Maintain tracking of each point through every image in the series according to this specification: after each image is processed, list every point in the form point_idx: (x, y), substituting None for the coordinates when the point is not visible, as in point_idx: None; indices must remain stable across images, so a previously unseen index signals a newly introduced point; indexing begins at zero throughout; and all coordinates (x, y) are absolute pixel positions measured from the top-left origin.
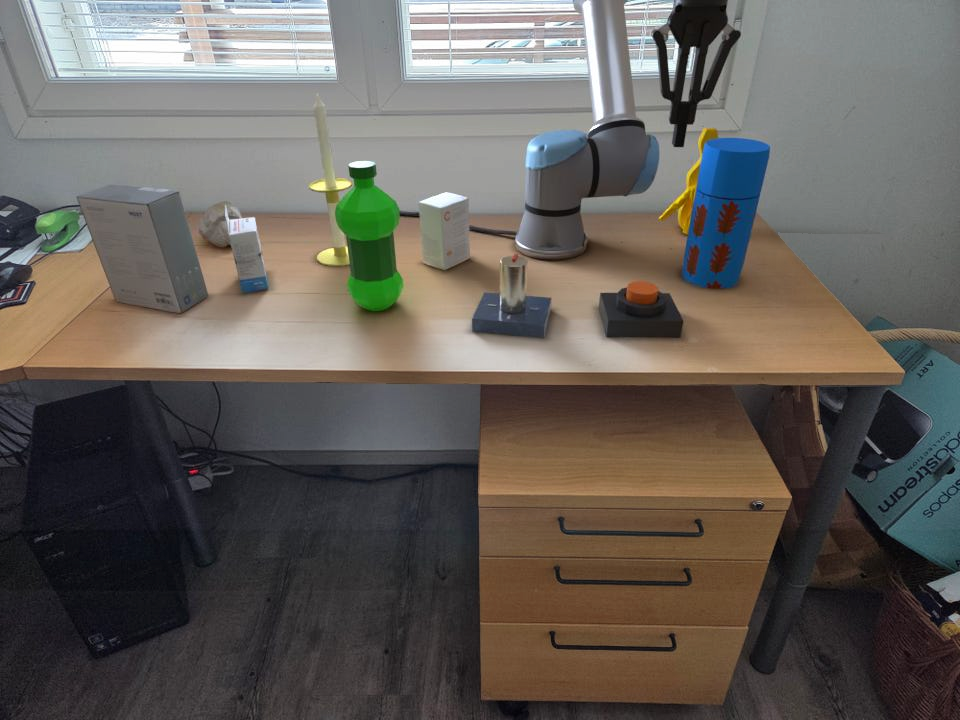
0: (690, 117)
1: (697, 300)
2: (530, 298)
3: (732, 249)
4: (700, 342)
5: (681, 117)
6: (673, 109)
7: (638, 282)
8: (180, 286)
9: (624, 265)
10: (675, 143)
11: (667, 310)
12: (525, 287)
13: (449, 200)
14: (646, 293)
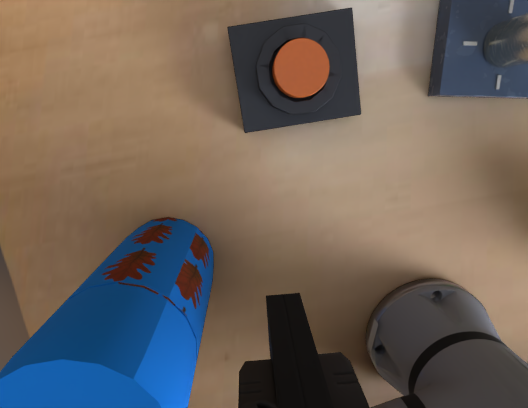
0: (261, 381)
1: (194, 172)
2: (474, 85)
3: (129, 242)
4: (198, 25)
5: (306, 363)
6: (356, 401)
7: (308, 88)
8: None
9: (304, 281)
10: (298, 299)
11: (252, 62)
12: (515, 28)
13: None
14: (297, 41)
